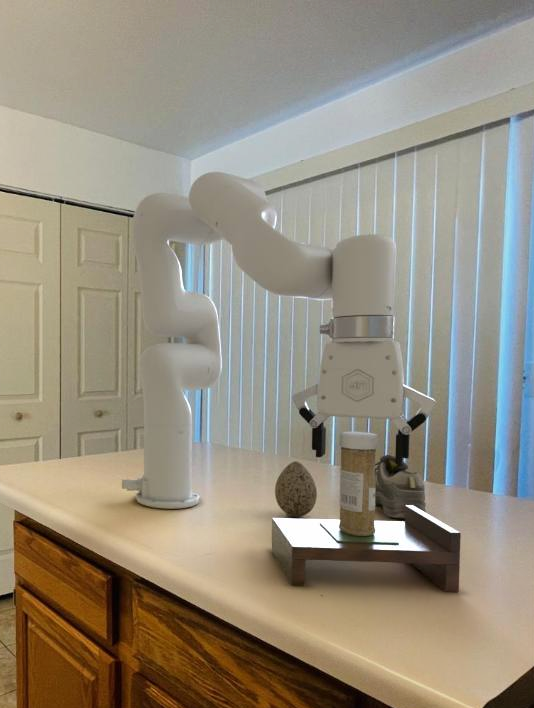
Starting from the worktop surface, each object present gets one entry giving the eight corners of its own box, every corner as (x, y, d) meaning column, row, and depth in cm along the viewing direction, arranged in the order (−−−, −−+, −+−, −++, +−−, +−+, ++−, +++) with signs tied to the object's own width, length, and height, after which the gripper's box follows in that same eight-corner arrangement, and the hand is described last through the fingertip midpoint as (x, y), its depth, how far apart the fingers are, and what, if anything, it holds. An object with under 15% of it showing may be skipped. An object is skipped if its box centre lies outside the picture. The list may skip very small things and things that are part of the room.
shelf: (291, 585, 66) (292, 527, 65) (271, 550, 78) (272, 501, 77) (459, 592, 64) (461, 532, 64) (411, 555, 76) (413, 505, 76)
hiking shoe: (400, 482, 111) (374, 434, 110) (453, 524, 90) (422, 465, 89) (359, 502, 112) (333, 455, 111) (403, 547, 92) (371, 489, 91)
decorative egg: (307, 524, 90) (308, 467, 89) (268, 516, 94) (268, 462, 94) (321, 515, 95) (323, 461, 95) (283, 508, 100) (284, 456, 99)
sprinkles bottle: (383, 535, 69) (385, 434, 68) (353, 538, 68) (355, 436, 67) (359, 525, 73) (361, 430, 73) (330, 527, 72) (332, 431, 72)
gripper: (287, 332, 71) (285, 457, 72) (438, 328, 61) (433, 472, 62) (300, 334, 77) (298, 449, 78) (438, 331, 68) (434, 461, 69)
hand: (358, 459), depth 70 cm, fingers open, 9 cm apart
